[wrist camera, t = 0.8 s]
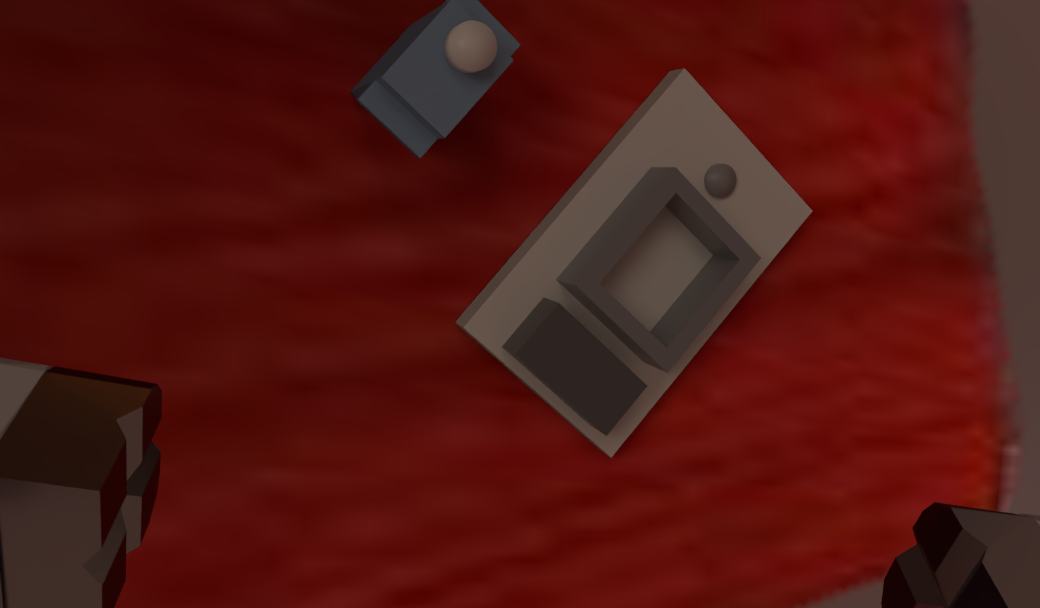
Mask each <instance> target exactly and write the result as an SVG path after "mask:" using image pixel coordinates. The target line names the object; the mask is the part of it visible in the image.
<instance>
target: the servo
mask: <svg viewBox="0 0 1040 608" xmlns="http://www.w3.org/2000/svg"><path fill="white" fill-rule="evenodd" d="M519 46H520V44H519V43H518V42H517V41H516V40H515V39H514V38H513V36H512V35H511V34H510V33H509V32H508V31H507V30H506V29H505V28H504V27H503V26H502V25H501V24H500V23H499V22H498V21H497V20H496V19H495V18H494V17H493V16H492V15H491V14H490V13H489V12H488V10H487V9H486V8H485V7H484V6H483V5H482V4H481V3H480V2H479V1H478V0H446V1H445V2H444V3H443V4H442V5H441V6H440V7H438V8H437V9H435V10H433V11H432V12H430V13H429V14H427V15H426V16H424V17H423V18H421V19H419V20H418V21H416V22H415V23H413V24H412V25H410V26H409V27H408V28H407V30H406V31H405V32H404V33H403V34H402V35H401V36H400V37H399V38H398V40H397V41H396V42H395V43H394V44H393V45H392V46H391V47H390V48H389V50H388V51H387V52H386V53H385V54H384V55H383V56H382V57H381V58H380V59H379V61H378V62H377V63H376V64H375V65H374V66H373V67H372V68H371V69H370V71H369V72H368V73H367V74H366V75H365V76H364V77H363V78H362V79H361V81H360V82H359V83H358V84H357V85H356V86H355V87H354V88H353V89H352V91H351V93H352V94H353V95H354V96H355V97H356V98H357V100H356V101H357V102H358V103H359V104H360V105H362V106H363V107H364V108H365V109H366V110H367V111H368V112H369V113H370V114H371V115H372V116H373V117H374V118H375V119H376V120H377V121H379V122H380V123H381V124H382V125H383V126H384V127H385V128H386V129H387V130H388V131H389V132H390V133H391V134H392V135H393V136H395V137H396V138H397V139H398V140H399V141H400V142H401V143H402V144H403V145H404V146H405V147H406V148H407V149H408V150H409V151H410V152H412V153H413V154H414V155H415V156H416V157H417V158H421V157H422V156H423V155H424V154H425V152H426V151H427V150H428V149H429V148H430V147H431V146H432V145H433V143H434V142H435V141H436V140H437V139H442V138H446V136H447V135H448V134H449V133H450V132H451V131H452V130H453V128H454V127H455V126H456V125H457V124H458V123H459V122H460V121H461V119H462V118H463V117H464V116H465V115H466V114H467V113H468V111H469V110H470V109H471V108H472V107H473V106H474V105H475V104H476V102H477V101H478V100H479V99H480V98H481V97H482V96H483V94H484V93H485V92H486V91H487V90H488V89H489V88H490V86H491V85H492V84H493V83H494V82H495V81H496V80H497V79H498V77H499V76H500V75H501V74H502V73H503V72H504V71H505V69H506V68H507V67H508V66H509V65H510V64H511V63H512V62H513V59H512V58H511V57H510V56H511V55H512V54H513V53H514V52H515V51H516V49H517V48H518V47H519Z"/></svg>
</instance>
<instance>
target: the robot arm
mask: <svg viewBox="0 0 1040 608" xmlns="http://www.w3.org/2000/svg"><path fill="white" fill-rule="evenodd" d="M161 418H162V391H161V389H160V387H159V386H158V384H154V383H149V382H143V381H137V380H131V379H126V378H120V377H114V376H108V375H103V374H97V373H91V372H85V371H79V370H74V369H68V368H62V367H56V366H54V367H50V366H47V365H41V364H35V363H29V362H23V361H17V360H11V359H5V358H0V608H114V607H115V604H116V602H117V600H118V597H119V595H120V593H121V590H122V588H123V586H124V583H125V581H126V554H127V553H129V552H130V551H132V550H134V549H135V548H137V547H138V546H140V545H141V542H142V540H143V537H144V535H145V532H146V530H147V527H148V525H149V522H150V518H151V514H152V511H153V507H154V503H155V499H156V496H157V490H158V483H159V475H160V460H161V452H160V451H159V449H158V448H157V447H156V446H155V444H154V443H153V442H152V438H153V436H154V434H155V432H156V430H157V427H158V425H159V423H160V421H161ZM913 531H914V535H915V538H916V542H917V545H915V546H914V547H912V548H910V549H909V550H907V551H905V552H904V553H902V554H900V555H899V556H897V557H896V558H895V560H894V562H893V563H892V565H891V567H890V569H889V571H888V573H887V575H886V577H885V579H884V586H883V595H882V603H881V605H882V608H1040V516H1037V515H1029V514H1019V515H1018V514H1013V513H1006V512H999V511H992V510H985V509H978V508H971V507H965V506H958V505H951V504H944V503H937V502H934V503H933V504H932V505H930V506H929V507H928V508H926V509H925V510H924V511H922V513H921V515H920V516H919V518H918V520H917V521H916V523H915V525H914V526H913Z"/></svg>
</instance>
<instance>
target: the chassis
mask: <svg viewBox="0 0 1040 608" xmlns="http://www.w3.org/2000/svg"><path fill="white" fill-rule="evenodd" d="M811 212H812V210H811V209H810V208H809V207H808V205H807V204H806V203H805V202H804V201H803V200H802V199H801V198H800V196H799V195H798V194H797V193H796V192H795V191H794V190H793V189H792V188H791V186H790V185H789V184H788V183H787V182H786V181H785V180H784V179H783V178H782V176H781V175H780V174H779V173H778V172H777V171H776V170H775V169H774V167H773V166H772V165H771V164H770V163H769V162H768V161H767V160H766V159H765V157H764V156H763V155H762V154H761V153H760V152H759V151H758V150H757V149H756V147H755V146H754V145H753V144H752V143H751V142H750V141H749V140H748V138H747V137H746V136H745V135H744V134H743V133H742V132H741V131H740V130H739V128H738V127H737V126H736V125H735V124H734V123H733V122H732V121H731V120H730V118H729V117H728V116H727V115H726V114H725V113H724V112H723V111H722V109H721V108H720V107H719V106H718V105H717V104H716V103H715V102H714V101H713V99H712V98H711V97H710V96H709V95H708V94H707V93H706V92H705V91H704V89H703V88H702V87H701V86H700V85H699V84H698V83H697V82H696V80H695V79H694V78H693V77H692V76H691V75H690V74H689V73H688V72H687V70H686V69H685V68H684V69H679V70H674V71H670V72H669V73H668V74H667V75H666V76H665V78H664V79H663V80H662V81H661V82H660V83H659V85H658V86H657V87H656V88H655V89H654V90H653V92H652V93H651V94H650V95H649V96H648V97H647V99H646V100H645V101H644V102H643V103H642V105H641V106H640V107H639V108H638V109H637V110H636V112H635V113H634V114H633V115H632V116H631V117H630V119H629V120H628V121H627V122H626V123H625V124H624V126H623V127H622V128H621V129H620V130H619V131H618V133H617V134H616V135H615V136H614V137H613V138H612V140H611V141H610V142H609V143H608V144H607V145H606V147H605V148H604V149H603V150H602V151H601V152H600V154H599V155H598V156H597V157H596V158H595V159H594V161H593V162H592V163H591V164H590V165H589V166H588V168H587V169H586V170H585V171H584V172H583V173H582V175H581V176H580V177H579V178H578V179H577V180H576V182H575V183H574V184H573V185H572V186H571V187H570V189H569V190H568V191H567V192H566V193H565V195H564V196H563V197H562V198H561V199H560V200H559V202H558V203H557V204H556V205H555V206H554V207H553V209H552V210H551V211H550V212H549V213H548V214H547V216H546V217H545V218H544V219H543V220H542V221H541V223H540V224H539V225H538V226H537V227H536V228H535V230H534V231H533V232H532V233H531V234H530V235H529V237H528V238H527V239H526V240H525V241H524V242H523V244H522V245H521V246H520V247H519V248H518V249H517V251H516V252H515V253H514V254H513V255H512V256H511V258H510V259H509V260H508V261H507V262H506V263H505V265H504V266H503V267H502V268H501V269H500V270H499V272H498V273H497V274H496V275H495V276H494V277H493V279H492V280H491V281H490V282H489V283H488V284H487V286H486V287H485V288H484V289H483V290H482V292H481V293H480V294H479V295H478V296H477V297H476V299H475V300H474V301H473V302H472V303H471V304H470V306H469V307H468V308H467V309H466V310H465V311H464V313H463V314H462V315H461V316H460V317H459V318H458V320H457V321H456V322H455V323H456V324H457V325H458V326H459V327H460V328H462V329H463V330H464V331H465V332H466V333H467V334H468V335H470V336H471V337H472V338H473V339H474V340H475V341H476V342H478V343H479V344H480V345H481V346H482V347H483V348H484V349H485V350H487V351H488V352H489V353H490V354H491V355H492V356H493V357H495V358H496V359H497V360H498V361H499V362H500V363H501V364H503V365H504V366H505V367H506V368H507V369H508V370H509V371H510V372H512V373H513V374H514V375H515V376H516V377H517V378H518V379H520V380H521V381H522V382H523V383H524V384H525V385H526V386H528V387H529V388H530V389H531V390H532V391H533V392H534V393H535V394H537V395H538V396H539V397H540V398H541V399H542V400H543V401H545V402H546V403H547V404H548V405H549V406H550V407H551V408H553V409H554V410H555V411H556V412H557V413H558V414H559V415H560V416H562V417H563V418H564V419H565V420H566V421H567V422H568V423H570V424H571V425H572V426H573V427H574V428H575V429H576V430H577V431H579V432H580V433H581V434H582V435H583V436H584V437H585V438H587V439H588V440H589V441H590V442H591V443H592V444H593V445H595V446H596V447H597V448H598V449H599V450H601V451H602V452H603V453H605V454H606V455H608V456H609V457H612V456H613V455H614V454H615V453H616V451H617V450H618V449H619V448H620V446H621V445H622V444H623V443H624V441H625V440H626V439H627V438H628V437H629V435H630V434H631V433H632V432H633V430H634V429H635V428H636V427H637V426H638V424H639V423H640V422H641V421H642V419H643V418H644V417H645V416H646V415H647V413H648V412H649V411H650V410H651V408H652V407H653V406H654V405H655V404H656V402H657V401H658V400H659V399H660V397H661V396H662V395H663V394H664V392H665V391H666V390H667V389H668V388H669V386H670V385H671V384H672V383H673V381H674V380H675V379H676V378H677V377H678V375H679V374H680V373H681V372H682V370H683V369H684V368H685V367H686V366H687V364H688V363H689V362H690V361H691V359H692V358H693V357H694V356H695V354H696V353H697V352H698V351H699V350H700V348H701V347H702V346H703V345H704V343H705V342H706V341H707V340H708V339H709V337H710V336H711V335H712V334H713V332H714V331H715V330H716V329H717V328H718V326H719V325H720V324H721V323H722V321H723V320H724V319H725V318H726V316H727V315H728V314H729V313H730V312H731V310H732V309H733V308H734V307H735V305H736V304H737V303H738V302H739V301H740V299H741V298H742V297H743V296H744V294H745V293H746V292H747V291H748V290H749V288H750V287H751V286H752V285H753V283H754V282H755V281H756V280H757V278H758V277H759V276H760V275H761V274H762V272H763V271H764V270H765V269H766V267H767V266H768V265H769V264H770V263H771V261H772V260H773V259H774V258H775V256H776V255H777V254H778V253H779V252H780V250H781V249H782V248H783V247H784V245H785V244H786V243H787V242H788V240H789V239H790V238H791V237H792V236H793V234H794V233H795V232H796V231H797V229H798V228H799V227H800V226H801V225H802V223H803V222H804V221H805V220H806V218H807V217H808V216H809V215H810V214H811Z"/></svg>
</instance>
